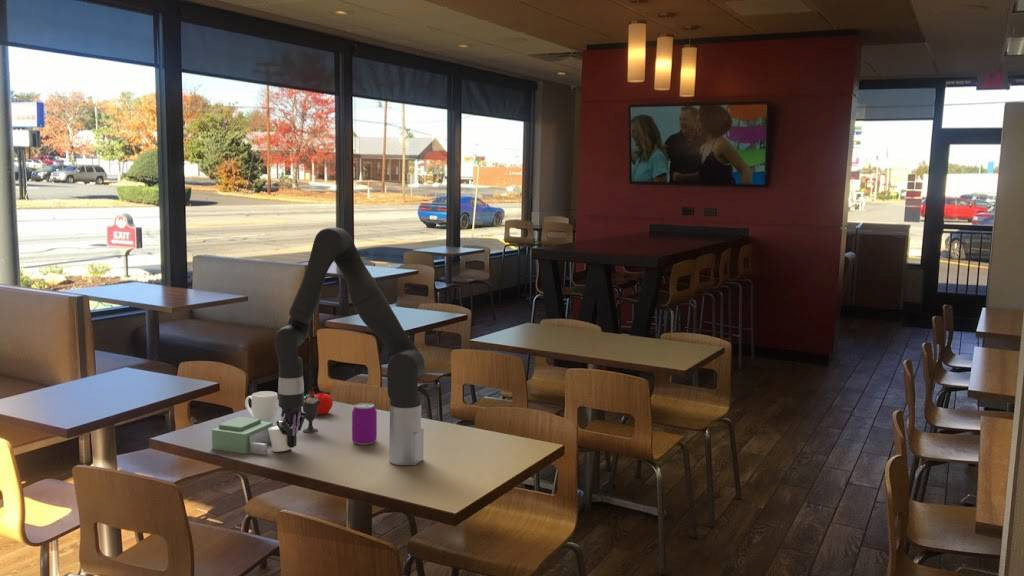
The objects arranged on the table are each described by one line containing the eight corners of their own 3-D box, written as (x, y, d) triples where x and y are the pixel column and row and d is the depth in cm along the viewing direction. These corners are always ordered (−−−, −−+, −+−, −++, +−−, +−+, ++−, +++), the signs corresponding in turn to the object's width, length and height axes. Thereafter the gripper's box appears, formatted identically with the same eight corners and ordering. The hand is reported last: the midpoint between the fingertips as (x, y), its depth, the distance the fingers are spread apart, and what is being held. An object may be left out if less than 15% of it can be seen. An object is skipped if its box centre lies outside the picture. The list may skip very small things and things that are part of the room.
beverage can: (367, 437, 270) (367, 400, 268) (381, 442, 264) (381, 405, 263) (347, 441, 264) (347, 404, 263) (361, 447, 259) (361, 409, 258)
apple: (306, 415, 293) (306, 395, 292) (315, 410, 301) (315, 390, 300) (327, 417, 292) (327, 396, 291) (336, 411, 299) (336, 391, 299)
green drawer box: (272, 440, 263) (272, 418, 262) (245, 453, 250) (245, 430, 249) (240, 436, 267) (240, 414, 266) (212, 448, 254) (211, 425, 253)
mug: (283, 425, 280) (282, 392, 279) (266, 432, 272) (266, 398, 271) (254, 421, 285) (254, 388, 283) (237, 427, 277) (237, 393, 276)
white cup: (282, 452, 249) (279, 429, 249) (266, 451, 253) (263, 429, 252) (298, 446, 255) (295, 424, 255) (282, 445, 259) (279, 423, 258)
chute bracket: (286, 444, 260) (286, 428, 260) (264, 454, 249) (264, 438, 249) (270, 441, 262) (270, 426, 261) (248, 452, 251) (247, 436, 251)
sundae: (315, 434, 271) (315, 389, 269) (296, 432, 272) (296, 388, 271) (324, 429, 277) (324, 385, 276) (305, 427, 279) (305, 383, 277)
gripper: (289, 396, 243) (290, 454, 245) (313, 387, 256) (314, 442, 258) (267, 394, 246) (268, 451, 248) (292, 385, 258) (293, 439, 260)
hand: (292, 446), depth 253 cm, fingers closed
